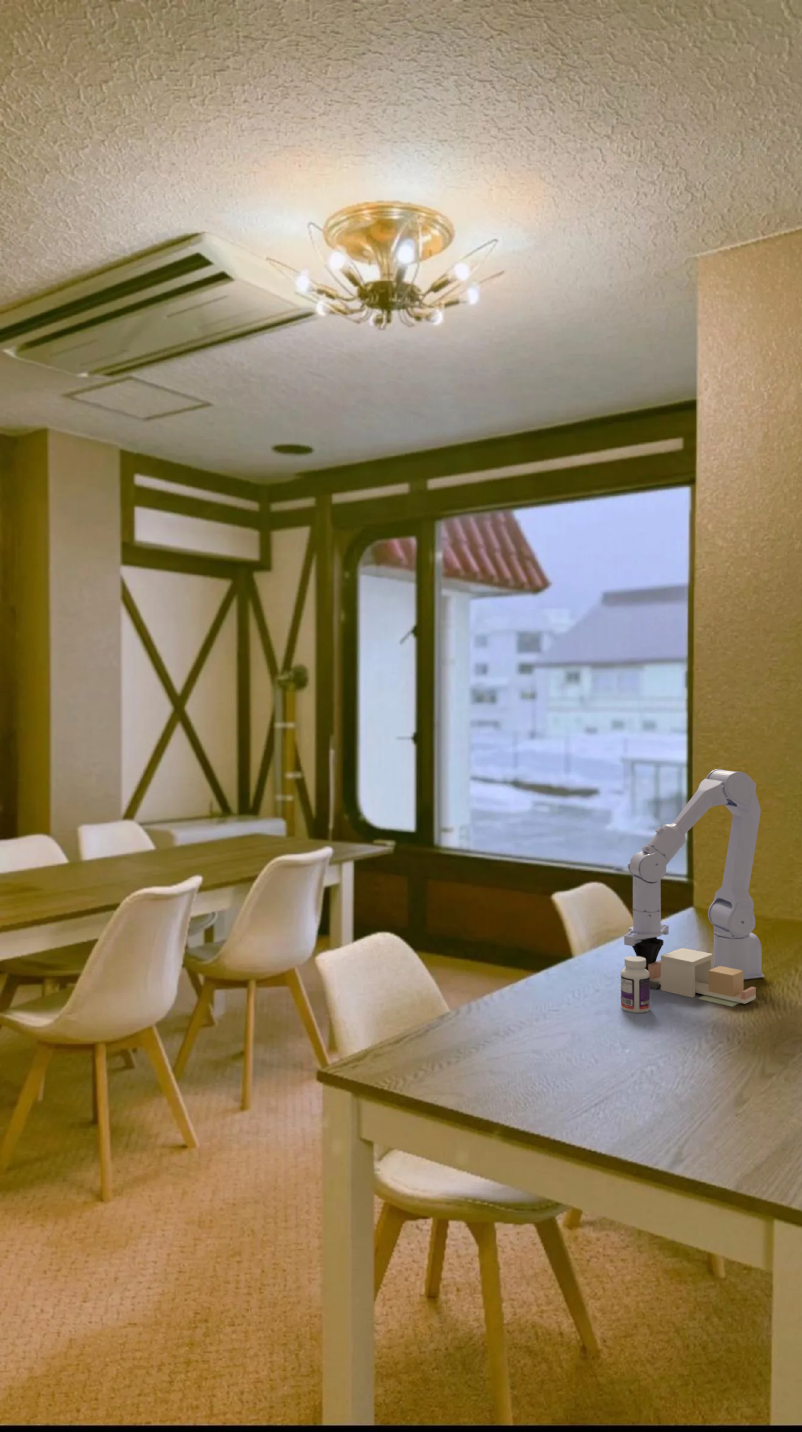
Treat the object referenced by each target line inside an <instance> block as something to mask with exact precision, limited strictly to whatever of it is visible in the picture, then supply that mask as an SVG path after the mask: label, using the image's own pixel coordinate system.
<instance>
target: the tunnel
mask: <svg viewBox="0 0 802 1432" xmlns="http://www.w3.org/2000/svg"><path fill="white" fill-rule="evenodd" d="M660 960H661V988H660V991H662V992H667V993H671V994H675V995H679V996H682V997H683V996H684V997H688V998H692V997H693V998H695V997H696V993H695V981H696V982H701V983H705V984H709V970H711V969H714V953H709V952H705V951H701V950H695V949H690V948H684V947H681V948H678V949H675V950H673V951H671V952H668V953H664V954H662V955H660Z"/></svg>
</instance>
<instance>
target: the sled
mask: <svg viewBox="0 0 802 1432" xmlns="http://www.w3.org/2000/svg"><path fill="white" fill-rule="evenodd" d="M648 972H649V974H650V981H653V982H658V983H659V984H660V985H661V959H660V960H658V961H657V960H656V962H654V963H651V964H649V965H648ZM744 980H745V979H744V971H742V970H737V969H733V968H728V967H723V966H718V967H716V968H714V967H713V969H711V970H709V984H705V983H701V982H696V981H695V994H696V993H697V994H701V995H703V996H704V995H708V996H713V997H717V998H722V999H726V1000H730V1001H735V1002H739V1004H745V1005H746V1004H747V1003H750V1002H752V1001H754V1000H755V999H757V994H756V993H757V987H755V986H750V987H748V988H746V989H744V986H745V985H744V982H745V981H744Z"/></svg>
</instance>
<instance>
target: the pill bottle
mask: <svg viewBox="0 0 802 1432" xmlns="http://www.w3.org/2000/svg"><path fill="white" fill-rule="evenodd" d="M645 967H646V959H645V958H643V957H639V956H636V955H631V956H630V955H628V956H625V957H624V967H623V969H621V971H620V1007H621V1009H622V1010H624V1011H625V1012H628V1013H632V1014H642V1013H643V1014H644V1013H647V1012H649V1011H650V1009H651V996H650V995H651V992H650V991H651V988H650V974H649V972H648V970H646V969H645Z"/></svg>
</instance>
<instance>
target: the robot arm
mask: <svg viewBox="0 0 802 1432" xmlns="http://www.w3.org/2000/svg"><path fill="white" fill-rule="evenodd" d="M756 792H757V783H756V782H755V781H754V780H753V779H752V778H751V776H750V775H748V774H747V773H746V772H743V771H735V770H734V771H733V770H725V769H722V768H716V769H713V770H712V771H710V772H709V773H708V774H707V776H706V777H705V778H704V779H703V780H702V781H701V782H700V783H699V785H698V788H697V789H696V792H695V793H694V794H693V795H692V797H691V798H690V800H689V801H688V802H687V803H686V805H685V806H684V807H683V809H682V810H681V811H680V813H679V814H678V815H677V816H676V818H674V821H673V822H672V823H668V824H663V825H662V826H658V827H657V828H656V829H655V832H656V833H655V834H654V836H653V837H652V838H651V839H650V841H648V843H646V845H643V846H642V847H641V850H642V851H639V852H635V854H633V855H632V857H631V858H630V860H629V862H630V863H628V864H627V870H628V871H629V873H630V875H632V926H630V927H628V933H626V934H624V935H623V939H624V940H623V942H624V943H623V945H625V946H629V947H632V948H633V951H634V953H635V956H639V957H643V958H645V959H646V967H645V969H646V970H648V965H649V964H651V963H654V962H657V959H658V956H659V953H660V951H661V950H662V948H663V946H664V939H660V938H658V937H661V936H665V935H666V936H667V935H669V930H670V929H669V928H670V927H669V924H663V923H661V922H662V916H661V914H662V913H661V911H662V910H661V909H662V908H661V905H662V903H661V900H662V897H661V893H662V892H661V889H662V887H661V880H662V878H665V876H666V872H667V865H668V864H669V863H670V862H671V860H672V859H673V858H674V857H675V856H676V854H677V853H678V852H679V851H680V850H681V848H683V846H684V845H685V844H686V842H687V841H686V840H687V839H686V834H687V833H688V831H689V830H691V828H692V827H693V826H694V825H695V824H696V823H697V822H698V821H699V820H700V819H701V818H702V817H703V816H704V815H705V814H706V813H707V812H708V811H709V809H710V808H712V807H718V806H722V805H724V806H725V807H726V808H727V809H728V811H729V812H730V813H731V814H732V820H731V826H730V831H729V833H730V834H729V839H728V846H727V852H726V857H725V864H724V870H723V878H722V885H721V887H720V888H719V889H718V890H717V891H715V892H714V893H715V894H714V897H713V901H712V903H711V904H710V905H709V908H708V910H707V917H708V920H709V922H710V923H711V924H712V925H713V969H714V968H716V967H718V966H723V967H728V968H733V969H737V970H742V971H744V980H751V979H759V978H764V977H765V974H763V973H762V962H763V961H762V956H763V955H762V944H761V941H760V939H759V937H758V936H757V935H756V934H755V933H753V931H754V929H755V927H756V917H755V913H754V907H755V906H754V905H755V903H754V900H753V898H752V897H751V895H750V892H749V889H750V884H751V877H752V870H753V864H754V858H755V851H756V850H755V849H756V845H757V839H758V832H759V825H760V818H761V812H762V811H761V806H760V803H759V799H758V795H757V793H756Z"/></svg>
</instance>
